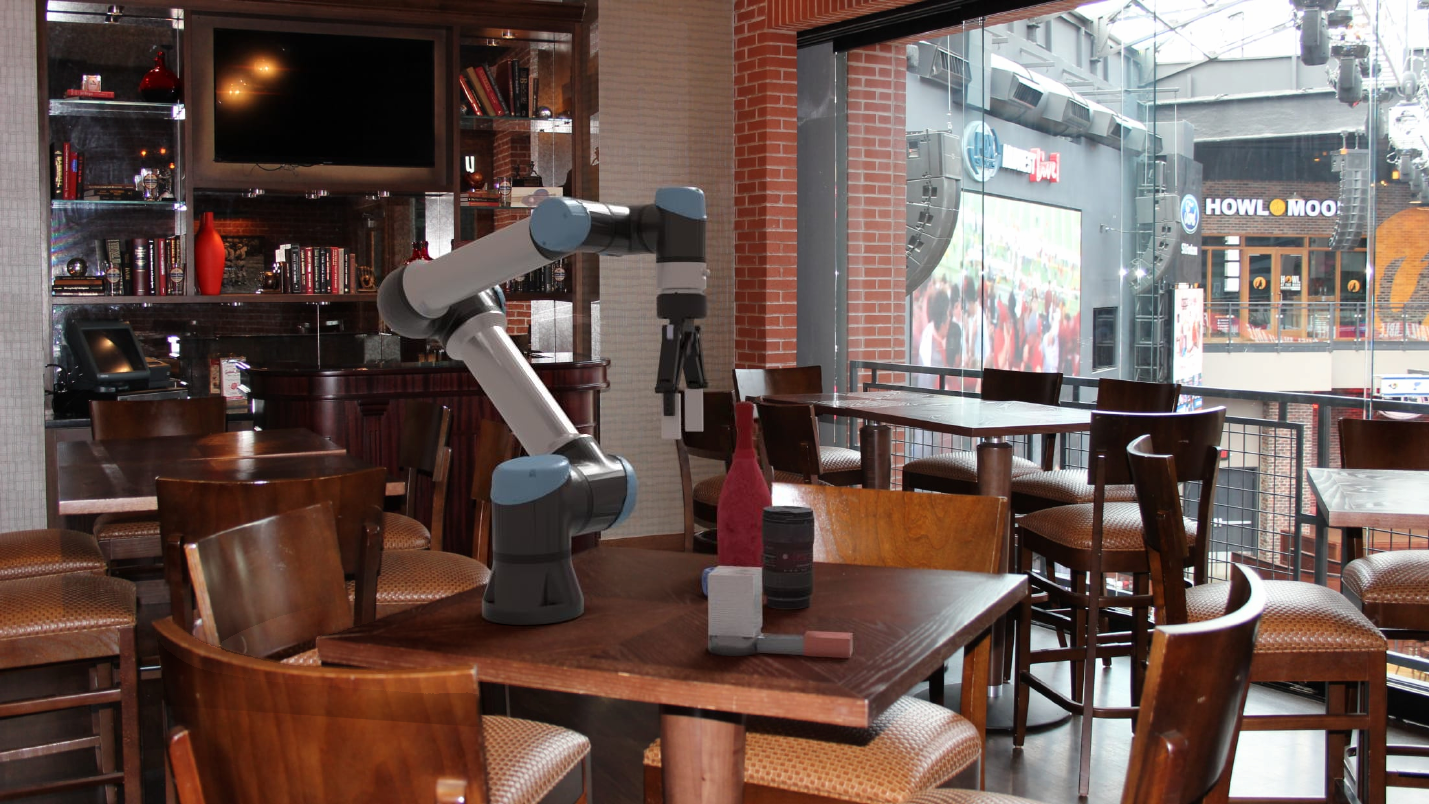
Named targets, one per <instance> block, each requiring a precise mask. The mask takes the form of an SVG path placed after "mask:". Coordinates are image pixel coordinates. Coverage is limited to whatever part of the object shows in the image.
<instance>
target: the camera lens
mask: <svg viewBox="0 0 1429 804" xmlns="http://www.w3.org/2000/svg"><path fill="white" fill-rule="evenodd" d="M762 516H763V517H762V543H763V553H762V554H761V562H762V563H763V572H762V591H763V595H764V596H765V597H766V606H768V607H769V608H773V609H777V610H797V609H803V608H807V607H809V606H810V604H811V596H812V595H813V591H814V590H813V589H814V588H813V587H814V582H815V580H814V579H815V576H814V575H815V571H814V544H815V537H816V536H815V533H816V532H815V530H816V529H815V522H816V521H815V514H814V509H813V508H811V507H806V506H797V505H773V506H769V507H765V508H764V512H763V515H762Z"/></svg>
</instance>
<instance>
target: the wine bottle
mask: <svg viewBox="0 0 1429 804" xmlns="http://www.w3.org/2000/svg"><path fill="white" fill-rule="evenodd" d="M734 410H735V422H734V426H735V428H736V431H737V432H736V433H737V434H736V446H735V450H734V453H733V460H732V463H731V465H730V468H729V470H728V472H727V475H726V477H725V479H724V482H723V484H722V488H721V490H720V495H719V497H718V498H719V499H718V502H717V512H716V529H717V530H716V531H717V532H716V534H717V562H718V564H717V565H718V566H736V567H762V572H763V563H762V562H761V554H762V553H763V543H762V517H763V516H762V515H763V512H764V508H765V507H769V506H774V505H773V500H772V497H771V493H770V490H769V486H768V484H767V481H766V480H765V477H764V474H763V472H762V470H761V467H760V466H759V464H758V461H757V454H756V451H755V448H754V438H753V429H754V427H755V422H754V411H755V405H754V403H753V402H752V401H748V400H747V401H746V400H744V401H743V400H742V401H738V402H736V403H735V405H734Z"/></svg>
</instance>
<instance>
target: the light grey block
mask: <svg viewBox="0 0 1429 804" xmlns="http://www.w3.org/2000/svg"><path fill="white" fill-rule="evenodd" d="M707 602H708V603H707V606H708V607H707V609H708V611H707V612H708V614H707V616H708V619H707V620H708V623H707V625H708V630H707V631H709V635H718V636H738V637H754V636H755V635H756V634H757V632H758V631H759V630H760V629H761V630H762V627H763V582H762V567H736V566H719V565H717V566H716V568H715V569H714V570H713V571H712V572H710V573H709V574H708V596H707Z"/></svg>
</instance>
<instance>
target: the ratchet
mask: <svg viewBox="0 0 1429 804" xmlns="http://www.w3.org/2000/svg"><path fill="white" fill-rule="evenodd" d="M707 631H708V630H707ZM853 635H854V634H853V632H840V631H839V632H837V631H819V630H818V631H817V630H816V631H815V630H807V631H806V632H805V634H787V633H767V632H766V633H765V632H762V628H761V629H760V630H759V631H758V632H757V634H756V635H755V636H754V637H738V636H718V635H709V631H708V632H707V636H708V637H707V639H708V646H707V647H708V652H709V653H712V654H714V655H719V656H725V655H727V656H728V657H740V656H741V657H742V656H750V655H754V654H757V653H759V654H774V655H775V654H777V655H778V654H780V655H797V656H798V655H800V656H805V657H817V658H818V657H820V658H822V657H823V658H839V659H840V658H842V659H843V658H844V659H850V658H851V657H852V654H853V653H854V650H853V649H854V645H853V644H854V640H853V638H854V637H853Z"/></svg>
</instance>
